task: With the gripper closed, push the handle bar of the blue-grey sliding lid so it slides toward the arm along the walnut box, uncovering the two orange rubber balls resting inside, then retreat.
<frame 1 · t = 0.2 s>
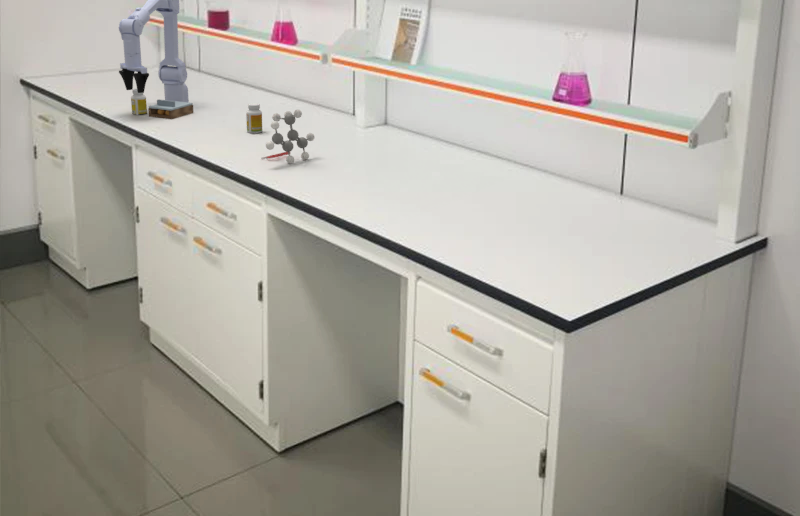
hand: (135, 91, 326), 10 cm above the worktop, tool pointing down, fingers open, 7 cm apart
lid: (170, 102, 333), point 5 cm above the worktop, slide at 0.0 cm
ball a: (161, 115, 332), point 1 cm above the worktop, touching case
supplement bottle: (139, 116, 335), on the worktop
molecule model: (283, 160, 279), on the worktop
ball b: (169, 116, 331), point 1 cm above the worktop, touching case
supplement bottle 2: (254, 132, 315), on the worktop
case: (171, 116, 335), on the worktop
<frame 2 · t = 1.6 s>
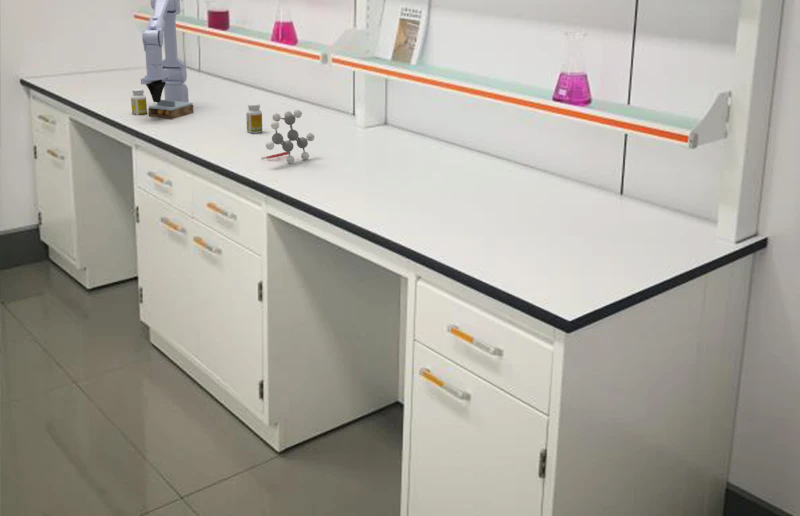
hand: (156, 101, 325), 7 cm above the worktop, tool pointing down, fingers closed
nothing on the worktop moved.
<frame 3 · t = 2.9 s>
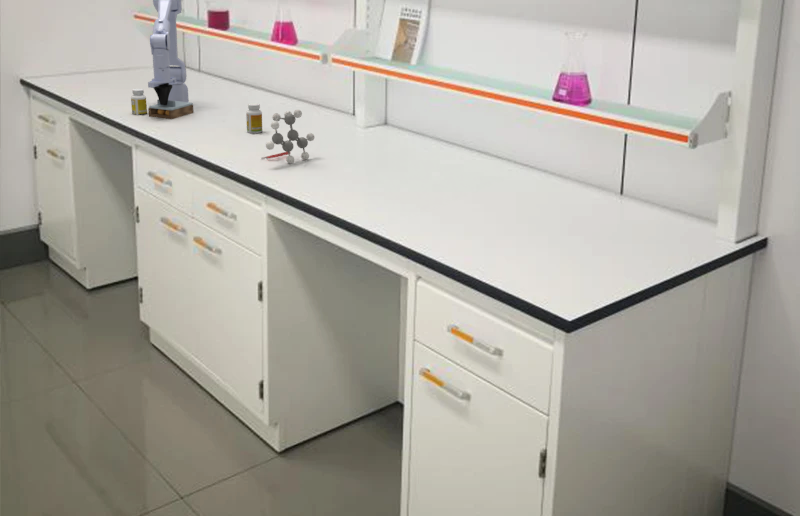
hand: (163, 104, 330), 5 cm above the worktop, tool pointing down, fingers closed
lid: (171, 102, 334), point 5 cm above the worktop, slide at 0.3 cm, touching gripper
everything else where it was.
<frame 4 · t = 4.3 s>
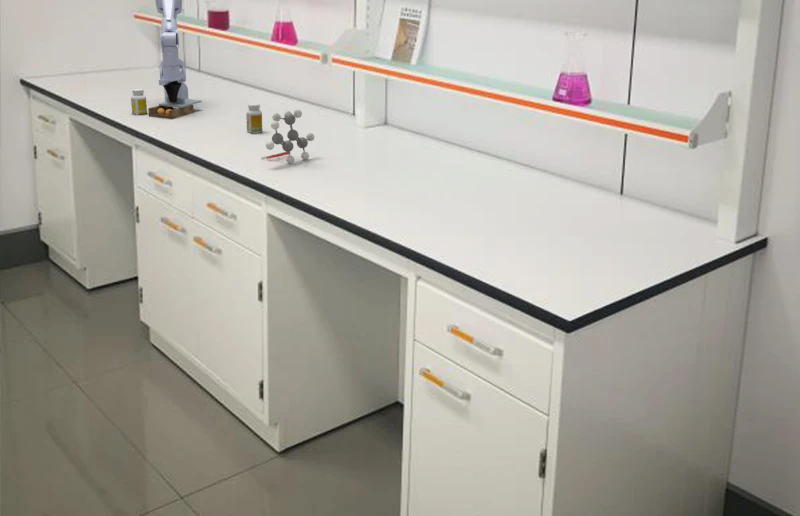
hand: (173, 102, 335), 5 cm above the worktop, tool pointing down, fingers closed
lid: (180, 100, 339), point 5 cm above the worktop, slide at 6.2 cm, touching gripper
everything else where it was.
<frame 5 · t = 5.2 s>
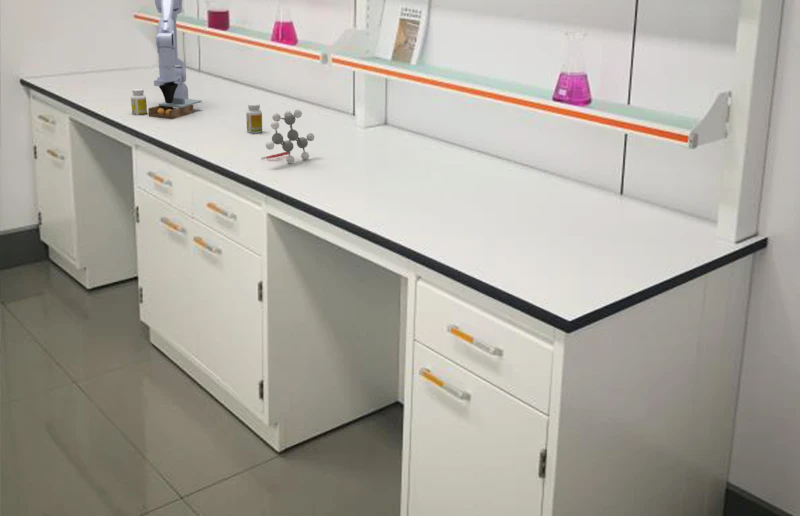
hand: (169, 103, 333), 5 cm above the worktop, tool pointing down, fingers closed
lid: (180, 100, 339), point 5 cm above the worktop, slide at 6.2 cm
everything else where it was.
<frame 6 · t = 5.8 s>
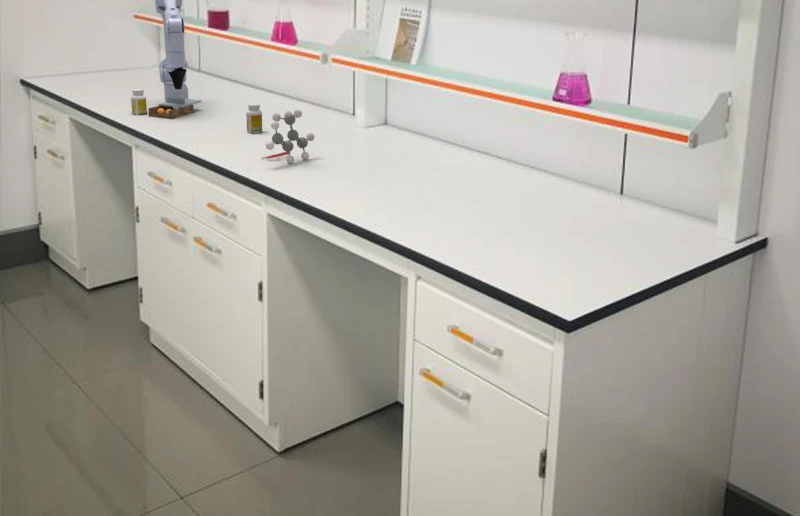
hand: (178, 89, 332), 10 cm above the worktop, tool pointing down, fingers closed
nothing on the worktop moved.
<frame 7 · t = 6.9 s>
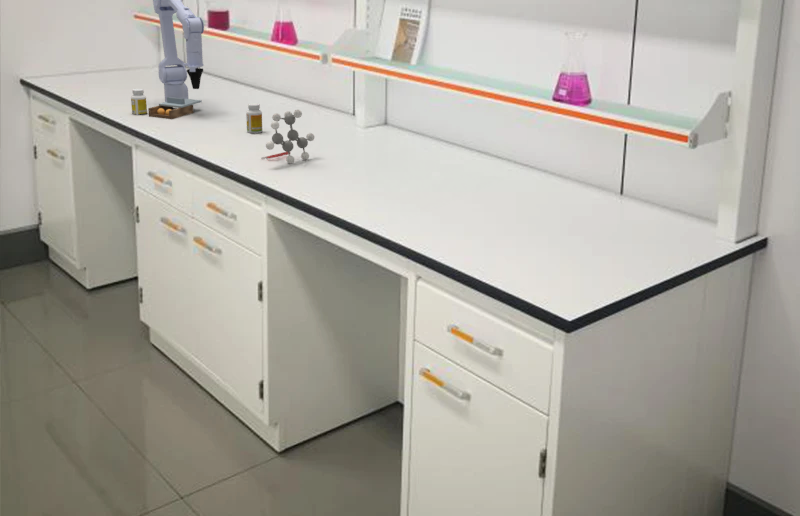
hand: (196, 88, 333), 10 cm above the worktop, tool pointing down, fingers closed
nothing on the worktop moved.
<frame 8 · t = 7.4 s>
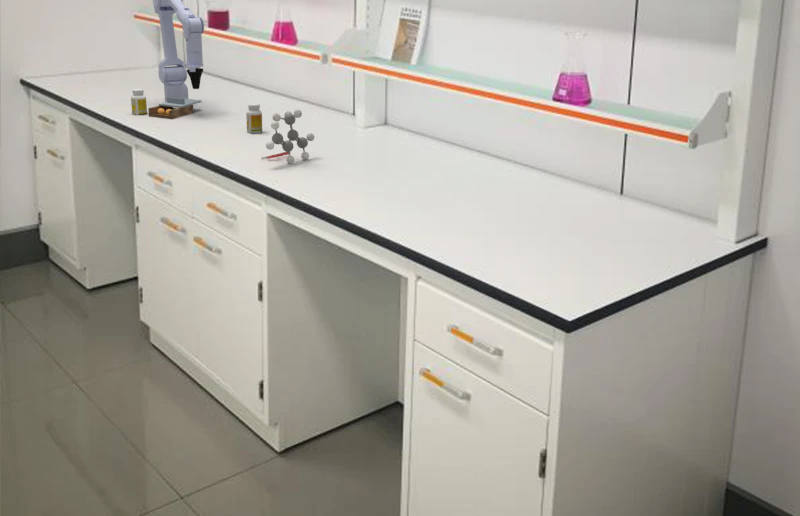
hand: (196, 88, 333), 10 cm above the worktop, tool pointing down, fingers closed
nothing on the worktop moved.
at the end: lid slide at 6.2 cm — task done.
